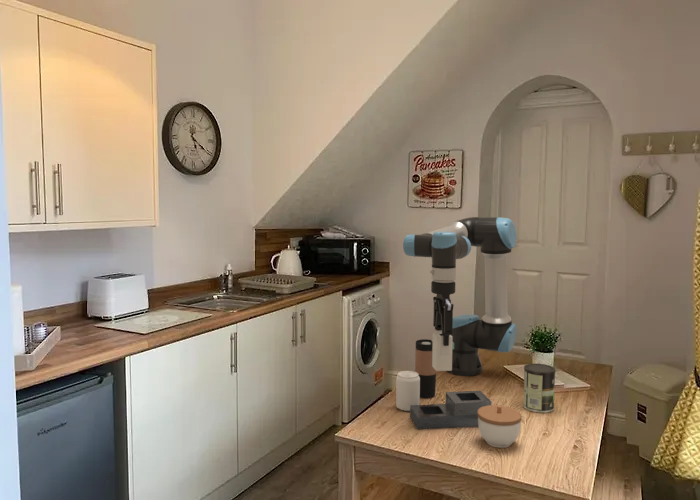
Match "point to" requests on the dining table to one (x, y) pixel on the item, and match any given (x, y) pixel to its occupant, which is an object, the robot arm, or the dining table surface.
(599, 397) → the dining table surface
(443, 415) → the grey stepped socket block
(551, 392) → the coffee can
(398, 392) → the beverage can
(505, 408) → the lidded bowl
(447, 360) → the plug
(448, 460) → the dining table surface
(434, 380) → the travel mug
